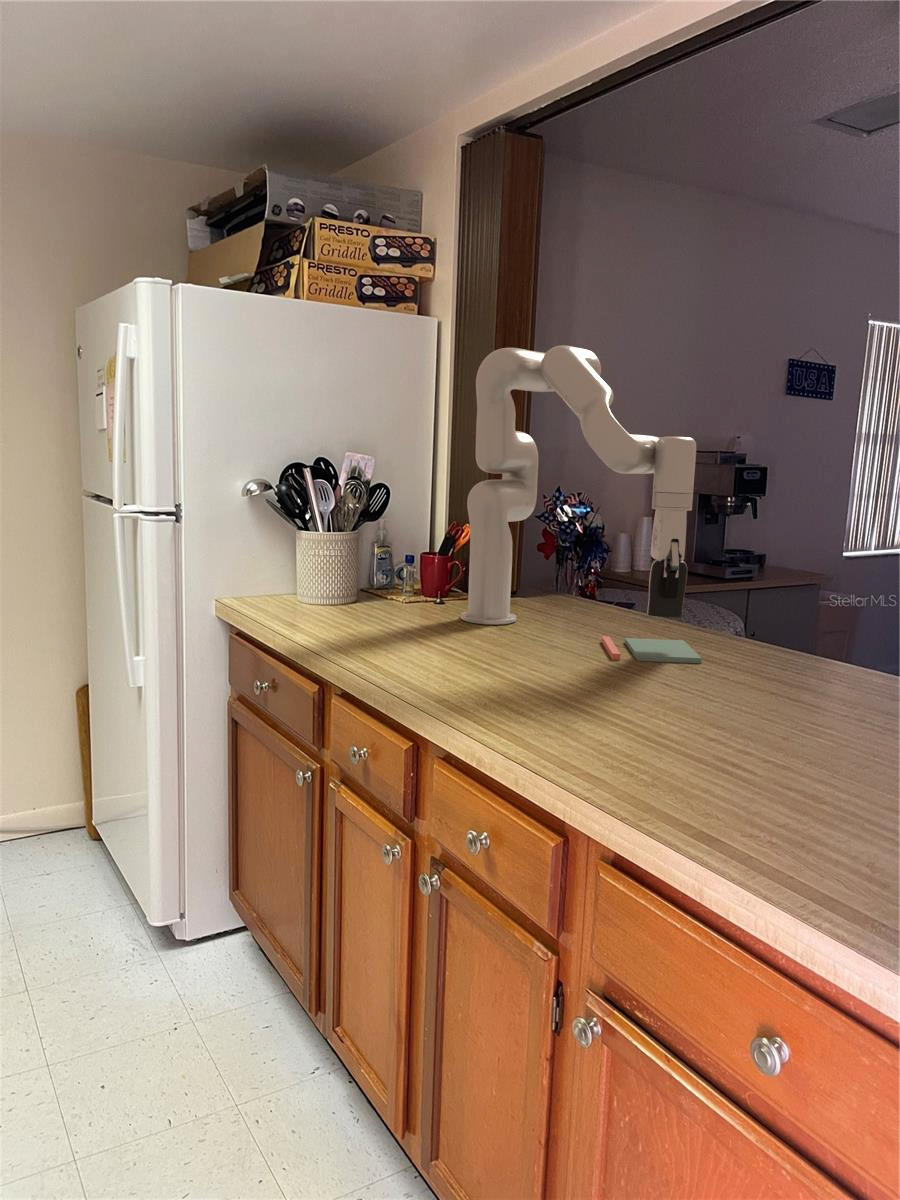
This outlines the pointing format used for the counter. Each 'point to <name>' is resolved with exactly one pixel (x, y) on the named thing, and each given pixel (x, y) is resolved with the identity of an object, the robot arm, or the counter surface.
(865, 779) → the counter surface
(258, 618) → the counter surface
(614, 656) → the bar
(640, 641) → the mat
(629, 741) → the counter surface
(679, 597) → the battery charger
